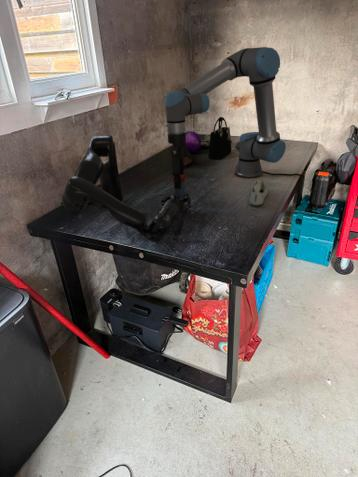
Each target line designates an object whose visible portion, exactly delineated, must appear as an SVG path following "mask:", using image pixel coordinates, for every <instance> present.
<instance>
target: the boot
mask: <svg viewBox="0 0 358 477" xmlns="http://www.w3.org/2000/svg"><path fill="white" fill-rule="evenodd" d="M183 157H184V165H185V167H186V166H187V165H188V164H190V163H192V162H193V159H194V158H193V155H192V153H190V152H188V150H187V146H186V142H185V143H183ZM182 168H183V169H184V167H182Z"/></svg>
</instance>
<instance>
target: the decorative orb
mask: <svg viewBox="0 0 358 477" xmlns="http://www.w3.org/2000/svg"><path fill="white" fill-rule="evenodd" d="M185 133H186V146H187V150H188V152H190V153H191V154H194V153H196V152H197V151H198V150H199V149H200V145H201V140H202V139H201V137H200V135H199V134H198V133H197V132H195V131H192V130H186V131H185Z"/></svg>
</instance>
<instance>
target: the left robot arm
mask: <svg viewBox="0 0 358 477" xmlns="http://www.w3.org/2000/svg"><path fill="white" fill-rule="evenodd" d="M116 149H117V147H116V142H115V138H114V137H113V135H110V134H109V135H94V136H92V137H91V138H90V140H89V143H88V145H87V148H86V151H85V153H84V155H83V156H82V158H81V159H80V161H79V163H78V165H77V167H76V170H75V173H74V175H73V176H72V177H69V179H68V180H67V182H66V185H65V187H64V189H63V191H62V194H61V203H60V204H61V205H62V206H63V207H64V208H65V209H66V210H67V211H69V212H71V213H81V212H82V211H84V210H85V209H87V207H88V205H89V204H92V203H94V202H98V203H99V204H101V205H102V207H104V208H106V210H107V211H108V212H109V213H110V215H111V216H112V217H113V218H114V219H115V220H116V221H117V222H119V223H120V224H122V225H125V226H127V227H129V228H131V229H133V230H135V231H137V233H139V234H140V235H141V236H143V237H144V238H145V239H147V241H150V242H152V243H159V242H161V241H162V240H163V239H164V237H165V236H166V235H167V233H168V232H169V230H170V229H171V227H172V225H173V223H174V222H175V220H177V219H178V217H179V215H180V214H181V213H182V212H181V211H182V208H184V207H185V206H186V207H187V208H189V209H190V208H192V202H191V201H192V200H191V199H192V198H191V197H190V195H189V193H185V196H184V197H182V198H180V199H175V193H173V194H172V195H171V196H170V195H167V196H165V197H164V198H162V199H161V200H160V203H161V208H160V210H159V212H158V213H157V214H156V215H155V216H154V217H153V219H152V220H151V222H150V224H149V225H148V224H147V223H146V221H147V214H146V213H145V212H143V211H141V210H139V209H137V208H135V207H133V206H131V205H129V204H126V203H125V202H124V200H123V198H124V196H123V194H122V187H121V180H120V174H119V173H120V172H119V166H118V158H117V150H116ZM103 158H108V159H107V160H106V161H103ZM98 181H99V183H100V184H99V185H100V187H99V186H98V185H96V184H97V182H98ZM91 199H92V200H91Z"/></svg>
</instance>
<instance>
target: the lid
mask: <svg viewBox="0 0 358 477" xmlns="http://www.w3.org/2000/svg"><path fill="white" fill-rule="evenodd" d="M180 177H181V182H186V175H185V174H184V175H182V174H180ZM172 181H173V182H174V175H173V176H172Z"/></svg>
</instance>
